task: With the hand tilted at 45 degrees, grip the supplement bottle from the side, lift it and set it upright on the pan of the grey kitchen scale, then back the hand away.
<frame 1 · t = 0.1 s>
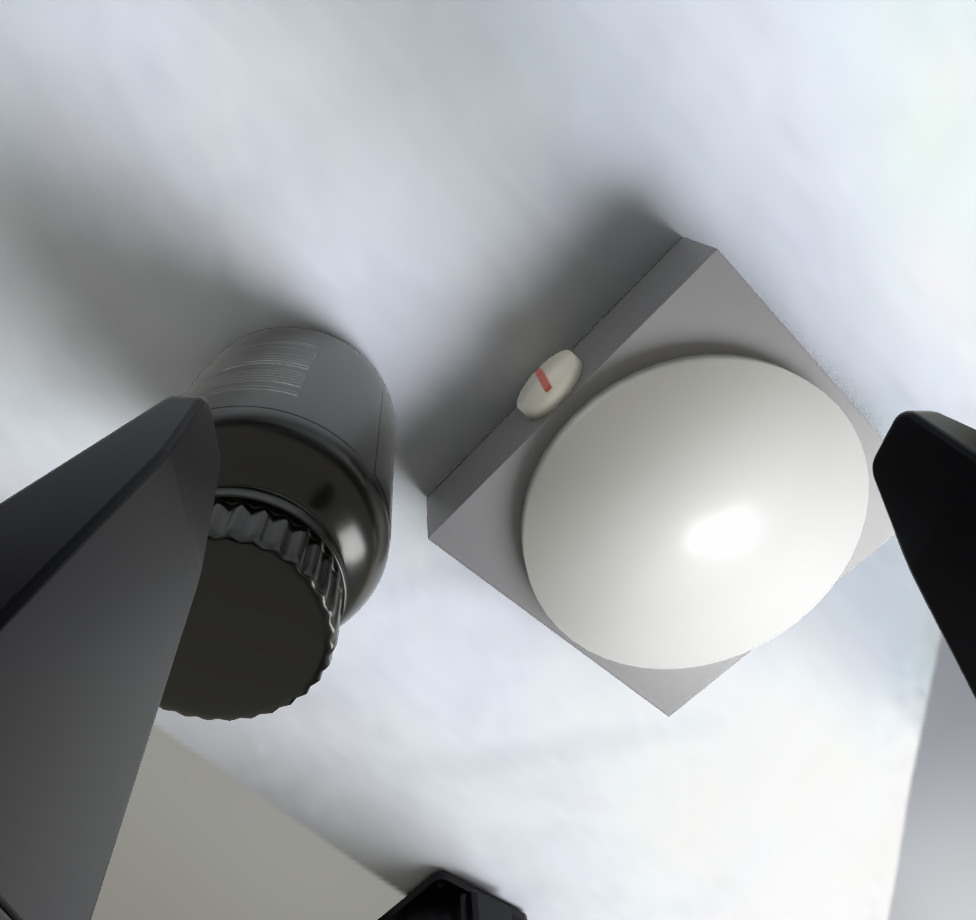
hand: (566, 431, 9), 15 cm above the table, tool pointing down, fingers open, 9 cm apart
supplement bottle: (301, 416, 25), on the table
kitchen scale: (662, 481, 27), on the table
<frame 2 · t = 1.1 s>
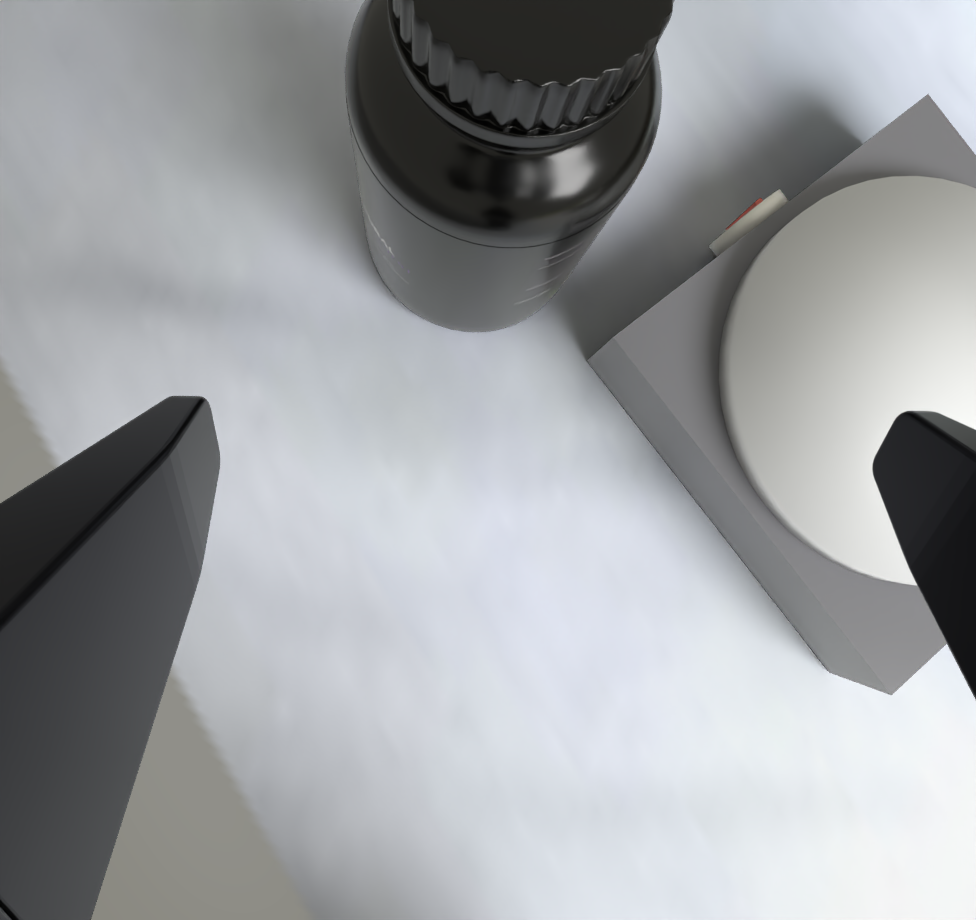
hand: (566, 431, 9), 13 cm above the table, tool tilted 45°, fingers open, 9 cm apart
supplement bottle: (471, 240, 23), on the table
kitchen scale: (848, 398, 24), on the table
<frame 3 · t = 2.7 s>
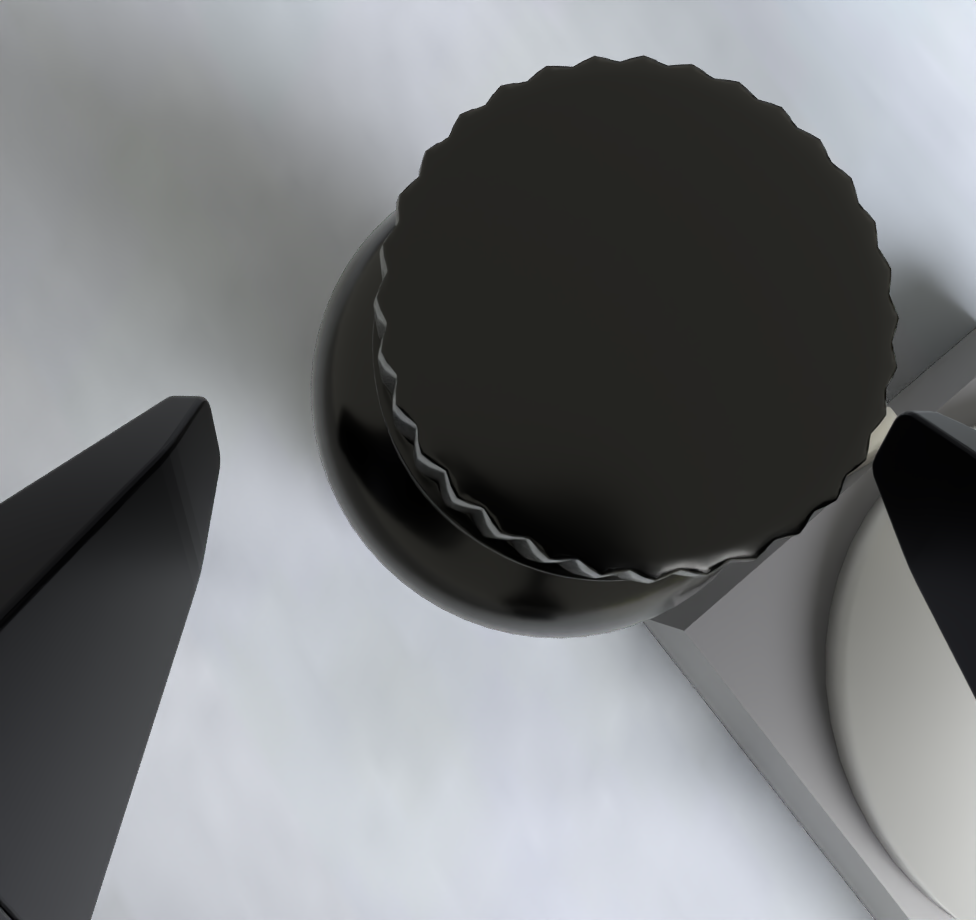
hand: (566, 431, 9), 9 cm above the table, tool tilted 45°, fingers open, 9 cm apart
supplement bottle: (489, 458, 18), on the table
kitchen scale: (971, 653, 19), on the table
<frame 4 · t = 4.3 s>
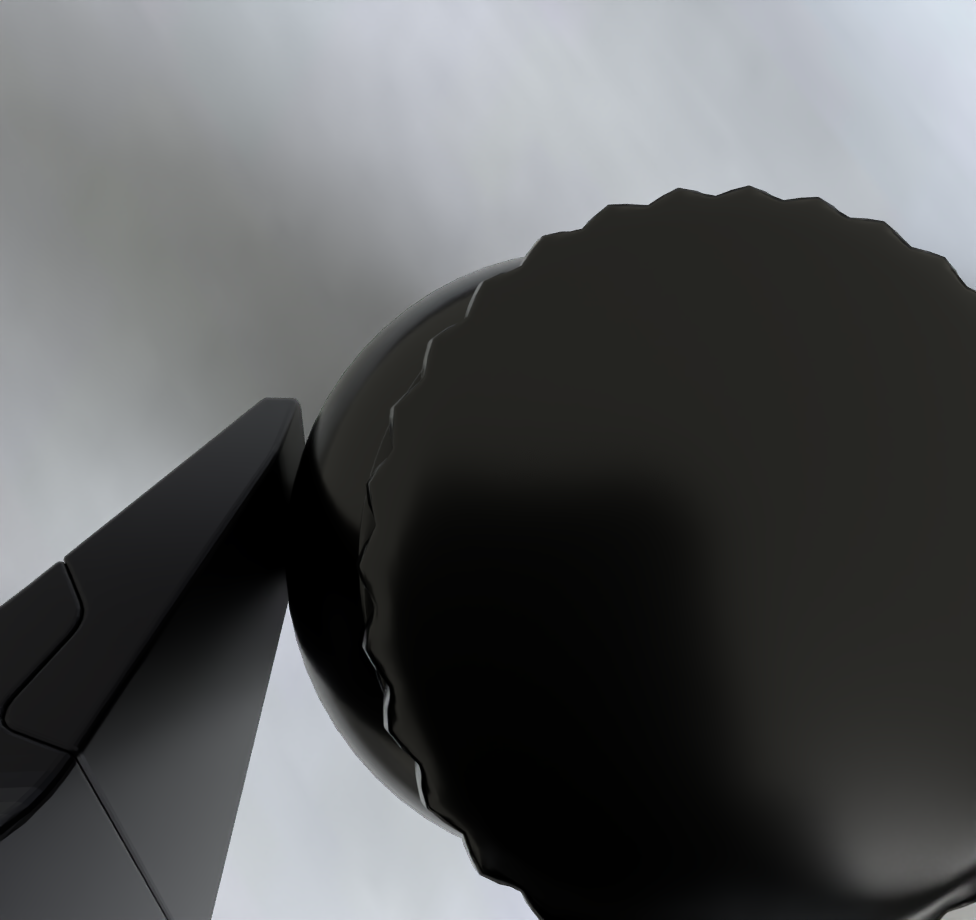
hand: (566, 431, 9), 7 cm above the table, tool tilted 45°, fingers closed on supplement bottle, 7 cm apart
supplement bottle: (499, 538, 16), on the table, touching gripper
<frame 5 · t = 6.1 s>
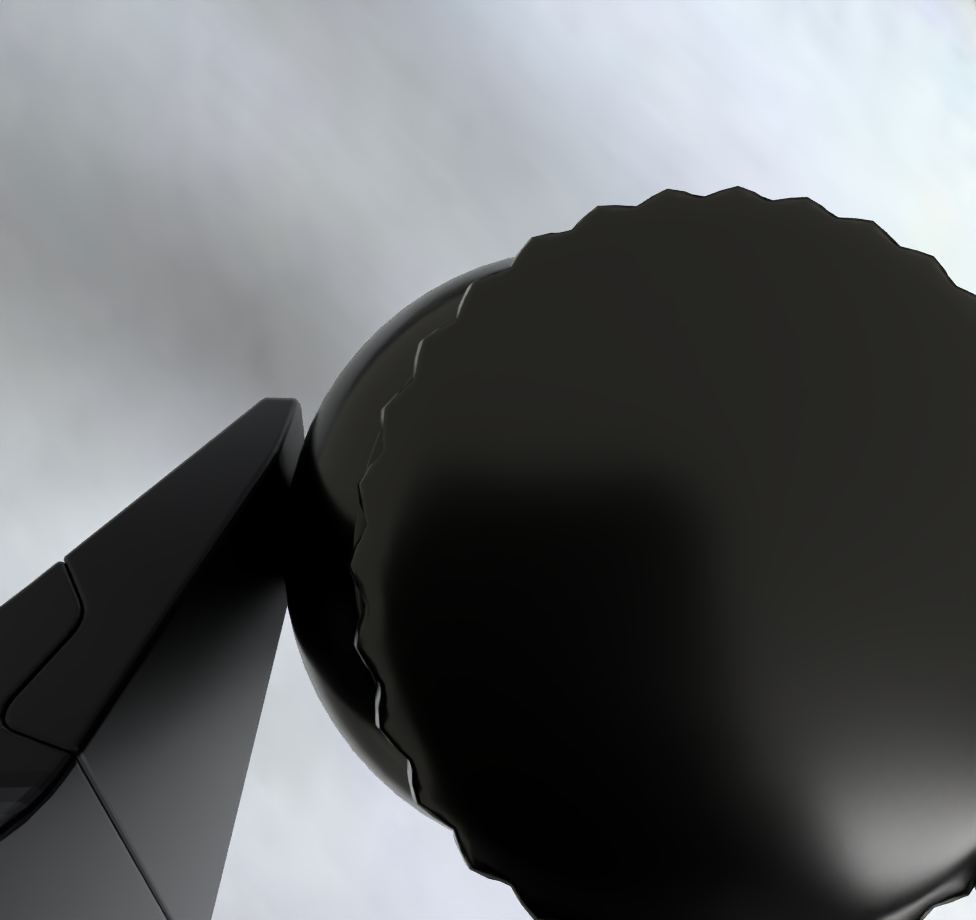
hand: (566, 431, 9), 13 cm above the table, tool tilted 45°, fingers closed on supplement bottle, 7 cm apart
supplement bottle: (500, 535, 16), point 6 cm above the table, touching gripper
when the fingers open (12 cm above the table, at t = 8.0 s): supplement bottle stays where it is, resting on kitchen scale.
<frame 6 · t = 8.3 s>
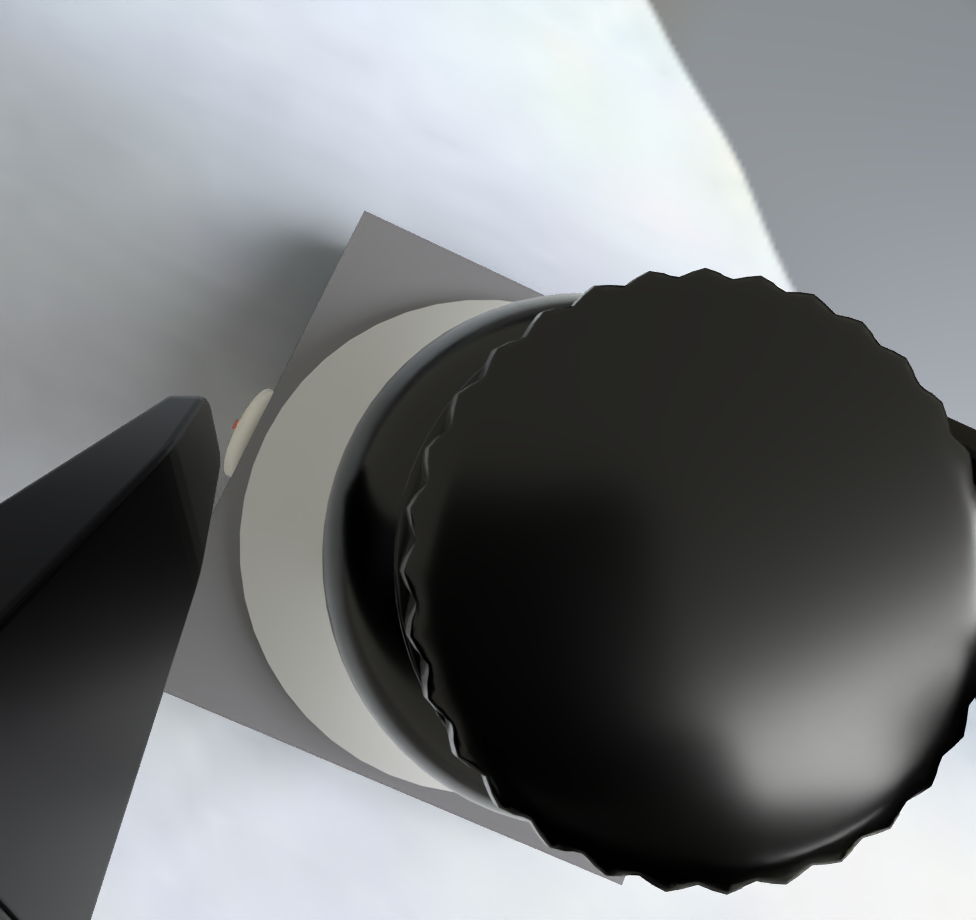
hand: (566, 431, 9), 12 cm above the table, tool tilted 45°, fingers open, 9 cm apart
supplement bottle: (503, 541, 17), point 4 cm above the table, touching kitchen scale
kitchen scale: (478, 536, 21), on the table
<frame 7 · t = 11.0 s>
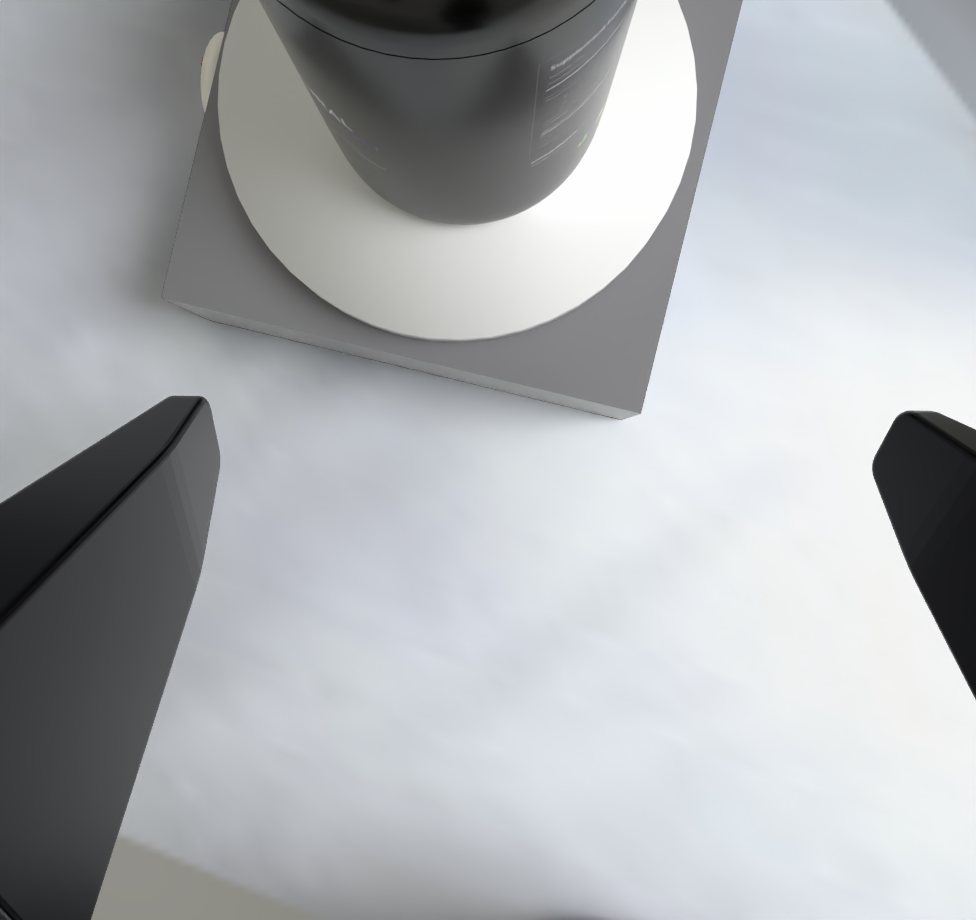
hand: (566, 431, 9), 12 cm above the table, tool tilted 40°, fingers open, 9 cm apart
supplement bottle: (468, 103, 18), point 4 cm above the table, touching kitchen scale
kitchen scale: (464, 161, 21), on the table
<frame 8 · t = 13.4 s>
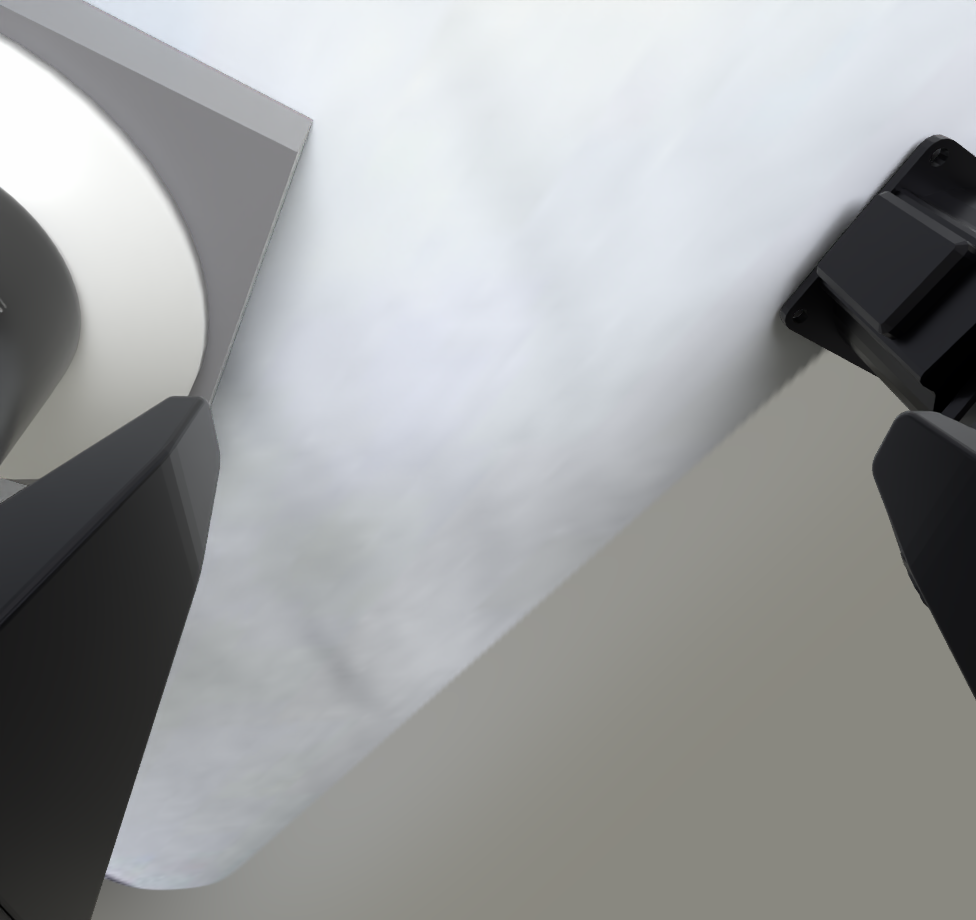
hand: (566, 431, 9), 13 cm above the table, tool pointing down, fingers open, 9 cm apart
kitchen scale: (8, 227, 19), on the table
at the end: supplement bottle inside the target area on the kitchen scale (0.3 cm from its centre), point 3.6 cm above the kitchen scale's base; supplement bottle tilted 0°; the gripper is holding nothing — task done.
